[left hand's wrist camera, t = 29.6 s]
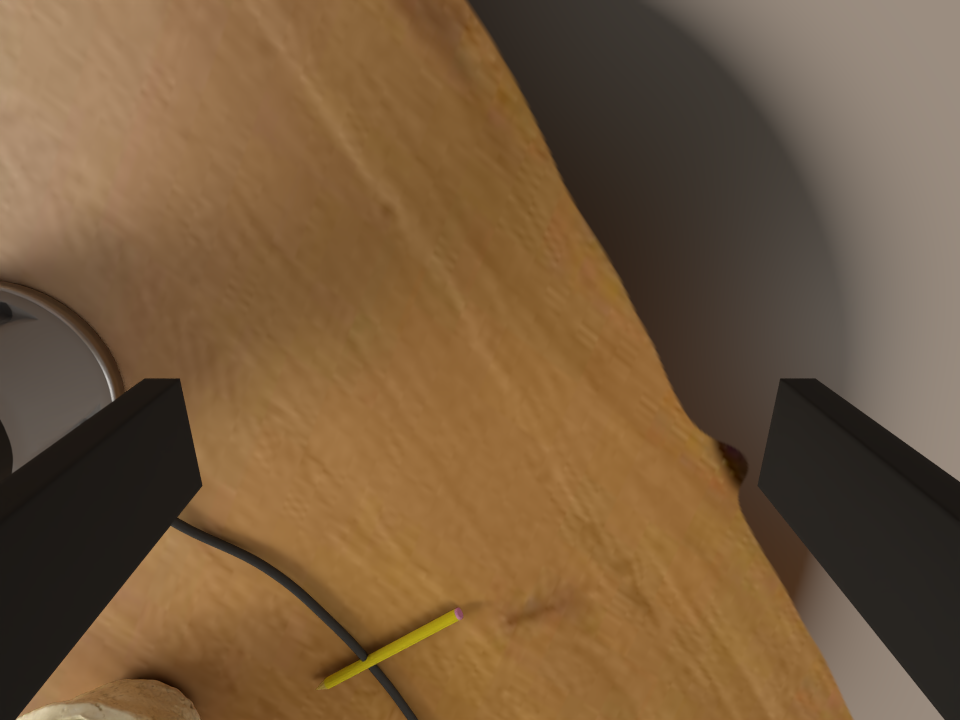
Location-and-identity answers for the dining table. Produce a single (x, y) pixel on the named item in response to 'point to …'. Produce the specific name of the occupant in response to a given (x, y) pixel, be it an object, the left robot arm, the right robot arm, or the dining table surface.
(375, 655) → the pencil
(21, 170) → the dining table surface
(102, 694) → the bowl
